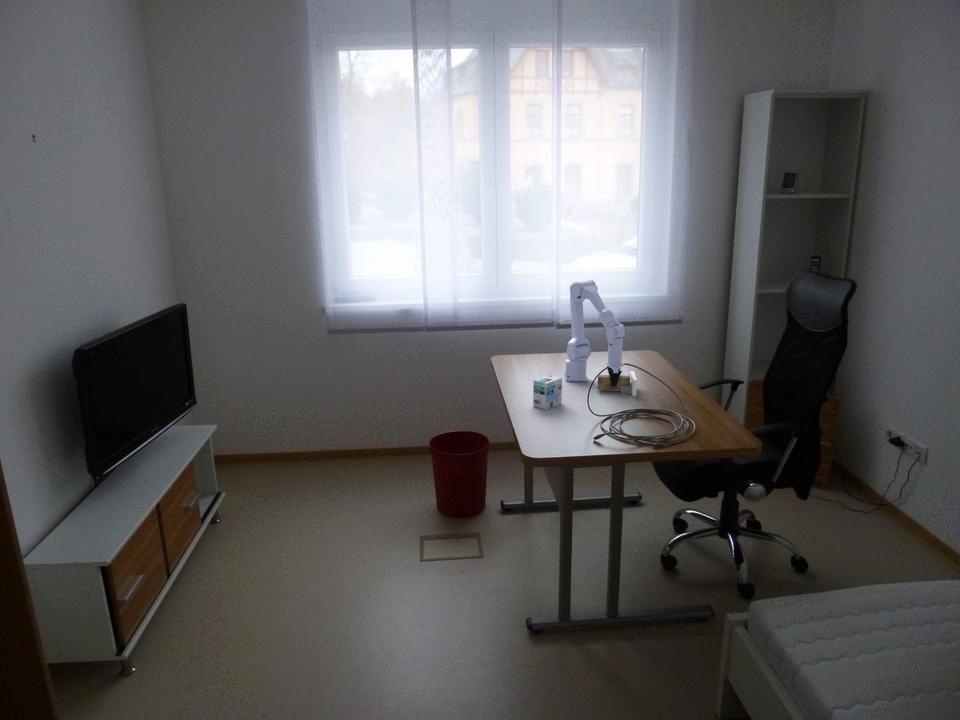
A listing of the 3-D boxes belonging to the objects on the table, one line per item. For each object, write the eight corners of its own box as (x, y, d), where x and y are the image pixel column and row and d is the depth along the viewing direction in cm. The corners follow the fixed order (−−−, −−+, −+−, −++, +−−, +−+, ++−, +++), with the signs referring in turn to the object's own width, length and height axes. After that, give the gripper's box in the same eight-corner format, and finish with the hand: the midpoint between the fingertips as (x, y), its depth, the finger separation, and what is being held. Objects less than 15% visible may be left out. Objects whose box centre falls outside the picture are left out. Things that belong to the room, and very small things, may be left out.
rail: (597, 389, 289) (598, 377, 287) (597, 387, 292) (598, 374, 290) (629, 390, 287) (630, 377, 286) (628, 388, 290) (629, 375, 289)
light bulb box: (545, 410, 267) (546, 383, 265) (532, 406, 272) (532, 380, 269) (562, 403, 275) (563, 377, 272) (548, 399, 279) (549, 374, 277)
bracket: (621, 396, 283) (622, 379, 281) (618, 386, 296) (619, 370, 294) (636, 396, 283) (637, 380, 281) (632, 386, 295) (633, 371, 293)
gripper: (626, 358, 278) (624, 390, 282) (623, 349, 292) (621, 380, 296) (608, 357, 279) (607, 389, 282) (606, 348, 293) (604, 379, 296)
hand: (613, 384), depth 289 cm, fingers closed on rail, 3 cm apart
